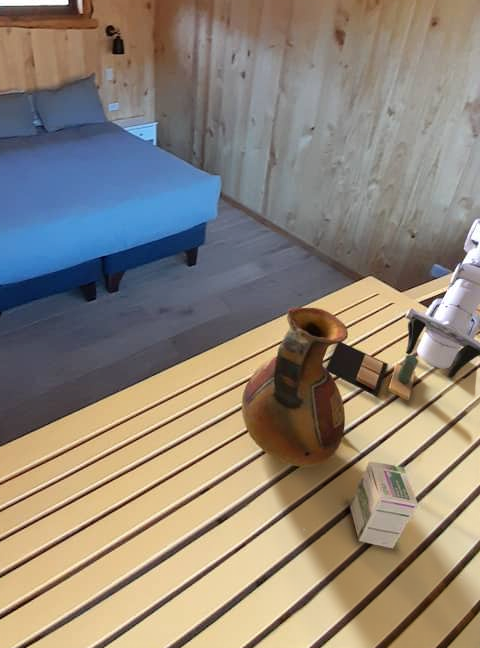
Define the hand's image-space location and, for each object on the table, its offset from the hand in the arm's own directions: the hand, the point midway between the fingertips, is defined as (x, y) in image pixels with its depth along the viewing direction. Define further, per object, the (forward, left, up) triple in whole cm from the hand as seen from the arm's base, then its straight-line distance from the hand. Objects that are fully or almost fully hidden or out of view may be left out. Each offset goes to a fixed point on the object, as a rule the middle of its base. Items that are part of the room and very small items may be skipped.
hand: (428, 364), depth 85 cm
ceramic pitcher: (+22, -19, -15) cm, 33 cm away
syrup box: (+30, -1, -15) cm, 34 cm away
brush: (-6, -2, -15) cm, 16 cm away
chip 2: (-1, -9, -13) cm, 16 cm away
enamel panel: (-4, -12, -15) cm, 19 cm away
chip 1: (-6, -9, -13) cm, 17 cm away
